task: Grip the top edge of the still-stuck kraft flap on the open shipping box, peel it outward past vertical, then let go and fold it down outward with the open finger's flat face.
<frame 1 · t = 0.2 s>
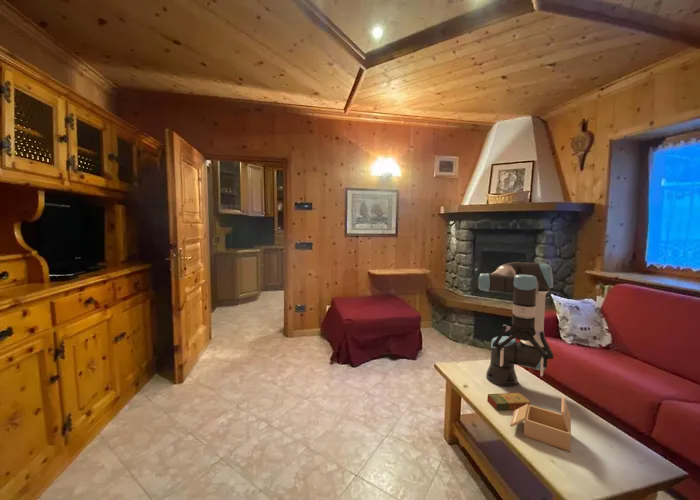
hand: (520, 370, 119), 28 cm above the table, fingers open, 13 cm apart
flap: (566, 413, 119), point 11 cm above the table, hinge at -20.0°
carton: (508, 406, 144), on the table
shipping box: (546, 435, 124), on the table
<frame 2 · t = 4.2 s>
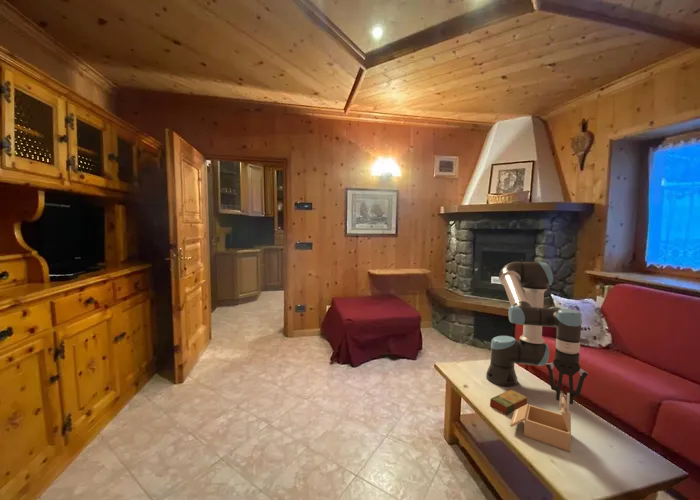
hand: (563, 409, 120), 12 cm above the table, fingers closed on flap, 2 cm apart
flap: (566, 413, 119), point 11 cm above the table, hinge at -19.7°, touching gripper
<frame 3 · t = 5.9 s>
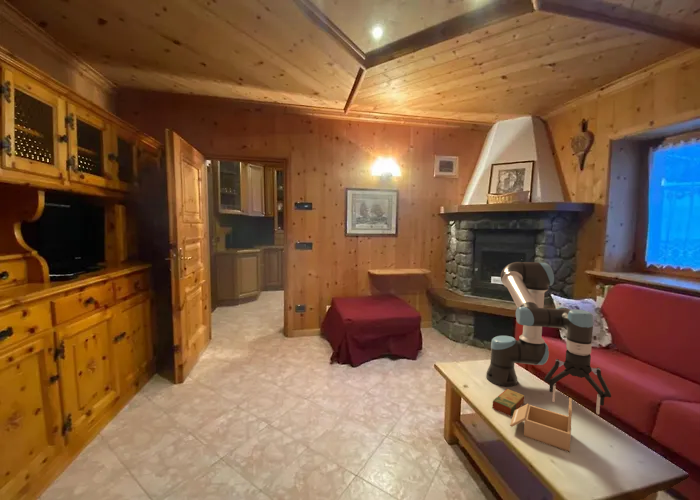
hand: (574, 406, 118), 15 cm above the table, fingers open, 13 cm apart
flap: (570, 414, 119), point 11 cm above the table, hinge at -1.0°
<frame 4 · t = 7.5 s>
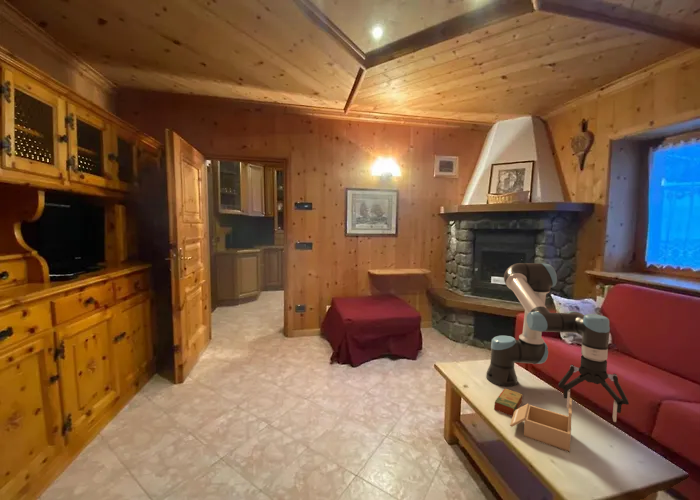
hand: (590, 413, 115), 14 cm above the table, fingers open, 13 cm apart
flap: (570, 414, 119), point 11 cm above the table, hinge at -0.9°, touching gripper
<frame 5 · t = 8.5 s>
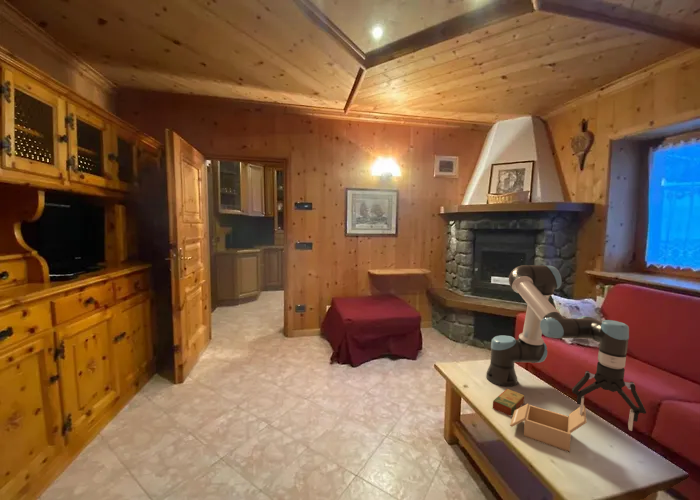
hand: (604, 420, 113), 13 cm above the table, fingers open, 13 cm apart
flap: (577, 418, 117), point 11 cm above the table, hinge at 37.1°, touching gripper
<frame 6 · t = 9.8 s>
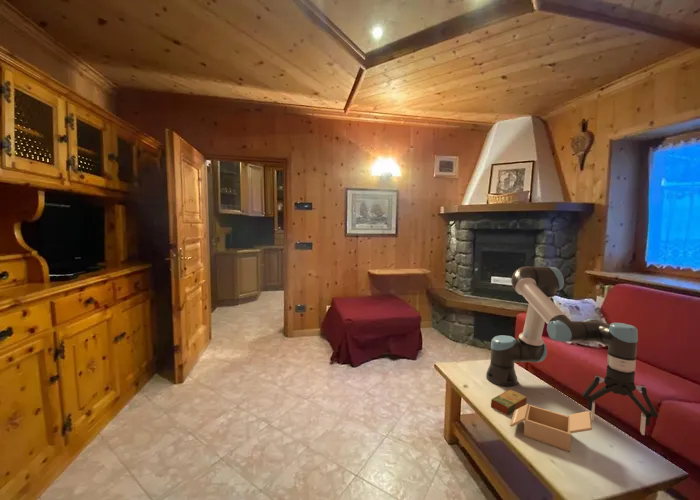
hand: (616, 425, 111), 12 cm above the table, fingers open, 13 cm apart
flap: (580, 421, 117), point 9 cm above the table, hinge at 58.2°
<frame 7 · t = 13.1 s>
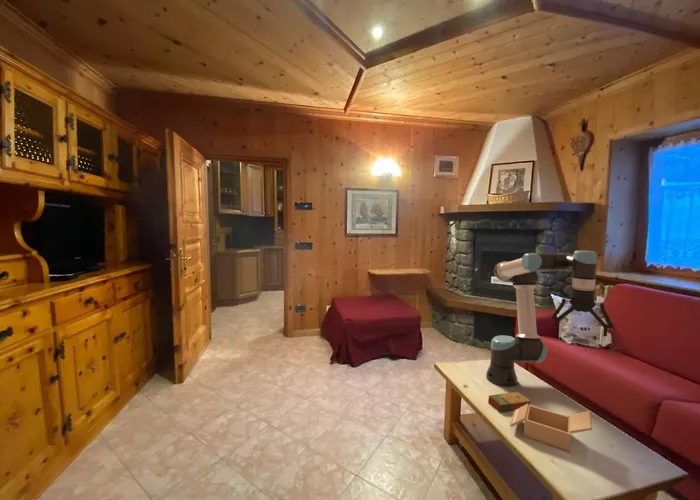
hand: (579, 340, 127), 37 cm above the table, fingers open, 13 cm apart
at the end: flap at +58° (first picture: -20°); the gripper is holding nothing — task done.
